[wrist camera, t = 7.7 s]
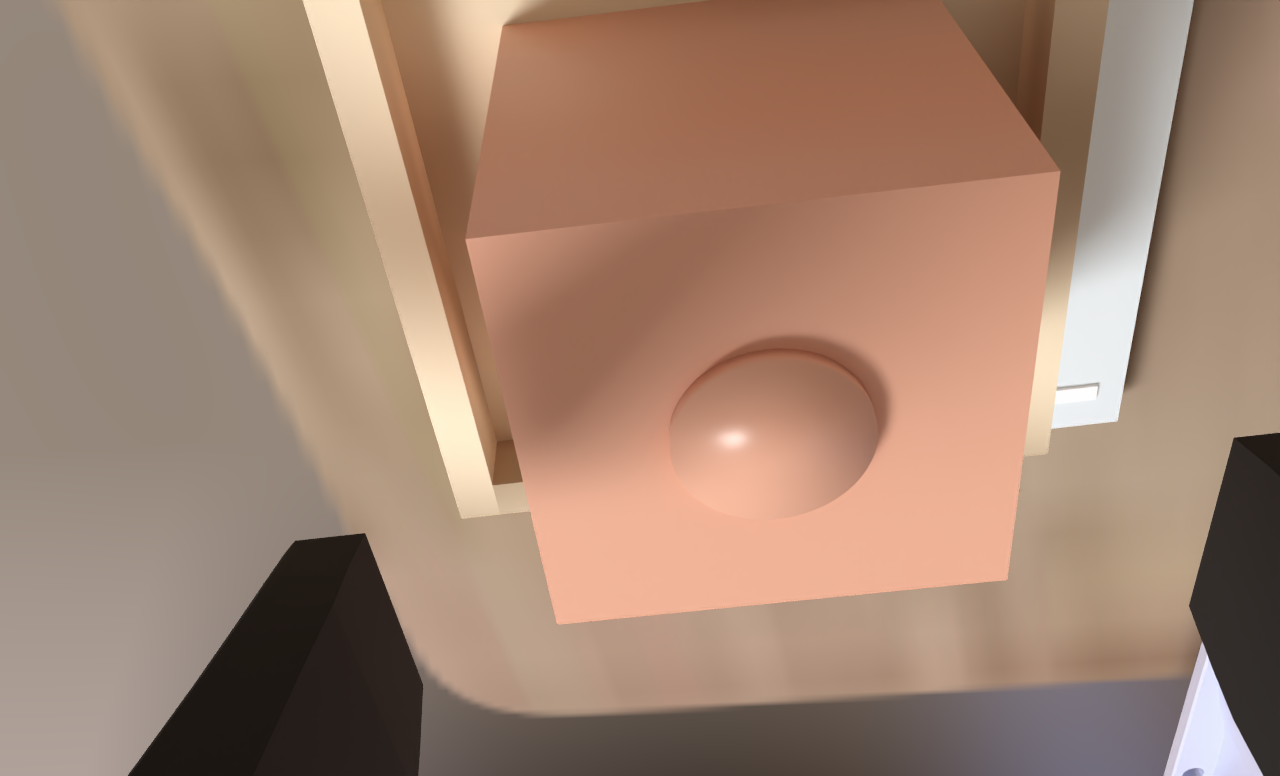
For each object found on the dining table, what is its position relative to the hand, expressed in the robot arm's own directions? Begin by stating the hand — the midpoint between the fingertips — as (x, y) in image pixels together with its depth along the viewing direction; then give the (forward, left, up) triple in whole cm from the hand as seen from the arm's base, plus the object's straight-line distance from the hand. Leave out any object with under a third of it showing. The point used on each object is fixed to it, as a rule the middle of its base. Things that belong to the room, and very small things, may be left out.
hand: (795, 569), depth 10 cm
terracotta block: (0, 0, -7) cm, 7 cm away
